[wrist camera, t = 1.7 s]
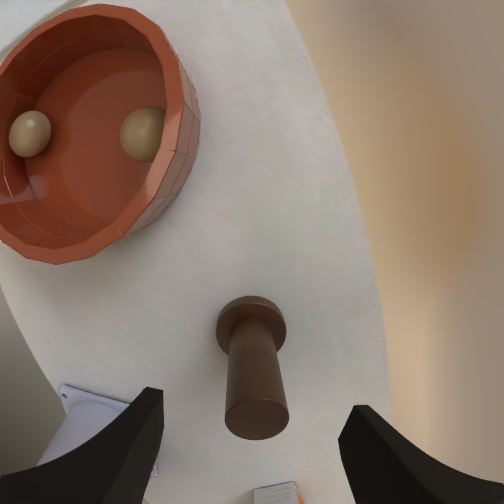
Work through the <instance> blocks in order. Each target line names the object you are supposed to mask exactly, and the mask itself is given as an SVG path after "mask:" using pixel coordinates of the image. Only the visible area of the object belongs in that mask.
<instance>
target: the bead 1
mask: <svg viewBox="0 0 504 504" xmlns="http://www.w3.org/2000/svg"><path fill="white" fill-rule="evenodd" d="M50 137H51V124H50V121H49V119H48V118H47V117H46V115H44V114H43V113H41V112H39V111H27V112H25V113H23V114H21V115H20V116H19V117H17V118H16V120H15V121H14V122H13V124H12V126H11V128H10V132H9V143H10V146H11V148H12V150H13V151H14V152H15V153H16V154H17V155H18V156H21V157H25V158H29V157H33V156H36V155H38V154H39V153H41V152H42V151H43V150H44V149H45V147H46V146H47V144H48V143H49V140H50Z"/></svg>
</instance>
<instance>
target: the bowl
mask: <svg viewBox="0 0 504 504" xmlns="http://www.w3.org/2000/svg"><path fill="white" fill-rule="evenodd" d="M146 106H153V107H158V108H161V109H163V110H164V111H166V112H165V118H164V123H163V129H162V135H161V141H160V147H159V149H158V151H157V153H156V155H155V158H154V160H153V161H152V162H140V161H137V160H134V159H132V158H131V157H129V156H128V155H127V154H126V153H125V151H124V150H123V148H122V146H121V143H120V129H121V126H122V124H123V122H124V120H125V119H126V117H127V116H128V115H129V114H130V113H132V112H133V111H134V110H136V109H138V108H141V107H146ZM27 111H39V112H41V113H43V114H44V115H46V117H47V118H48V119H49V121H50V124H51V137H50V140H49V143H48V144H47V146H46V147H45V149H44V150H43V151H42V152H41V153H39V154H38V155H36V156H33V157H29V158H25V157H21V156H18V155H17V154H16V153H15V152H14V151H13V150H12V148H11V146H10V143H9V132H10V128H11V126H12V124H13V122H14V121H15V120H16V118H17V117H19V116H20V115H21V114H23V113H25V112H27ZM199 134H200V113H199V107H198V101H197V97H196V92H195V89H194V86H193V84H192V82H191V81H190V79H189V77H188V75H187V73H186V71H185V69H184V67H183V65H182V64H181V62H180V60H179V58H178V56H177V54H176V53H175V51H174V49H173V47H172V46H171V44H170V42H169V41H168V39H167V37H166V35H165V34H164V32H163V30H162V29H161V28H160V26H158V25H157V24H155V23H154V22H153V21H151V20H150V19H148V18H147V17H145V16H144V15H142V14H141V13H139V12H138V11H136V10H135V9H132V8H126V7H121V6H115V5H108V4H94V5H89V6H84V7H79V8H75V9H70V10H68V11H65V12H63V13H61V14H59V15H58V16H56V17H54V18H52V19H50V20H48V21H46V22H45V23H43V24H41V25H39V26H38V27H36V28H35V29H34V30H33V31H32V32H30V33H29V34H28V35H27V36H26V37H25V38H24V39H23V40H22V41H21V42H20V43H19V44H17V45H16V46H15V47H14V48H13V49H12V50H11V52H10V53H9V54H8V56H7V57H6V58H5V60H4V61H3V63H2V64H1V66H0V240H1V241H2V242H4V243H5V244H6V245H8V246H9V247H11V248H12V249H13V250H15V251H16V252H18V253H19V254H21V255H22V256H23V257H25V258H27V259H32V260H36V261H41V262H45V263H50V264H55V265H58V264H63V263H68V262H73V261H78V260H82V259H87V258H90V257H92V256H94V255H96V254H98V253H99V252H101V251H103V250H105V249H107V248H108V247H110V246H112V245H114V244H116V243H118V242H120V241H121V240H123V239H125V238H127V237H129V236H130V235H132V234H133V233H135V232H137V231H138V230H140V229H142V228H144V227H145V226H147V225H148V224H150V223H152V222H153V221H154V220H155V219H156V218H157V217H158V216H159V215H160V214H161V213H162V212H163V211H164V210H165V209H166V208H167V207H168V206H169V205H170V204H171V202H172V201H173V200H174V199H175V197H176V196H177V194H178V193H179V191H180V190H181V188H182V187H183V185H184V183H185V181H186V179H187V177H188V175H189V173H190V171H191V168H192V165H193V162H194V159H195V156H196V152H197V147H198V143H199Z"/></svg>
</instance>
